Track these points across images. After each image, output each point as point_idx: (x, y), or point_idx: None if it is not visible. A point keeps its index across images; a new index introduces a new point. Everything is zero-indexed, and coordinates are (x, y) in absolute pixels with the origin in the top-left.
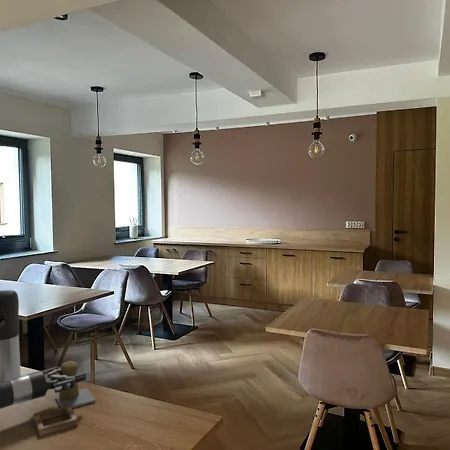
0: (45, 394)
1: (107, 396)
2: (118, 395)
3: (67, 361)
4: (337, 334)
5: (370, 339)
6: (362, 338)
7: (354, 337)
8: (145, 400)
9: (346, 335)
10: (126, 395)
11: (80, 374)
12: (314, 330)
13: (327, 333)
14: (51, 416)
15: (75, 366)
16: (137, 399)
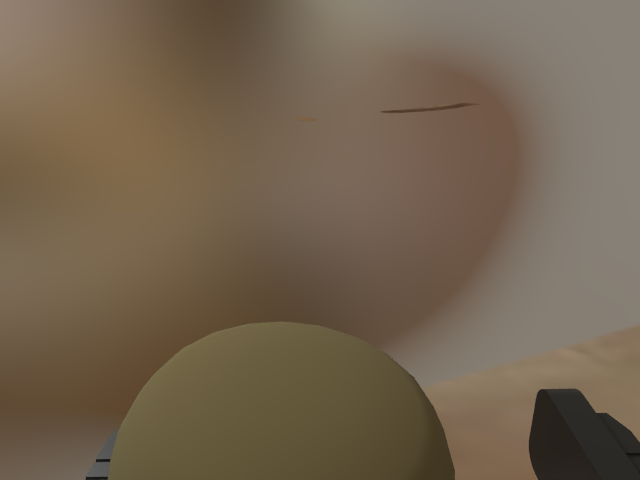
0: None
1: (464, 454)
2: (487, 405)
3: (178, 378)
4: (426, 108)
5: (479, 104)
6: (468, 105)
7: (456, 106)
8: (628, 345)
9: (440, 107)
10: (512, 378)
11: (600, 438)
12: (383, 111)
13: (411, 110)
14: None
15: (408, 375)
16: (598, 362)
